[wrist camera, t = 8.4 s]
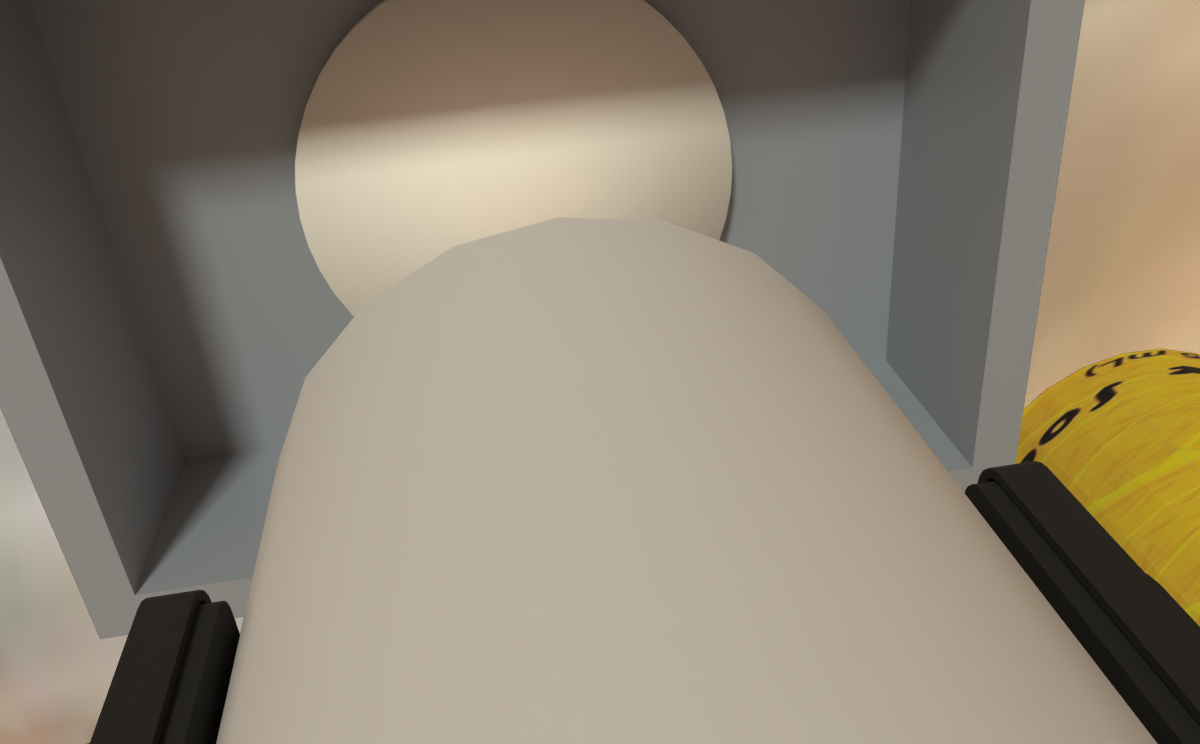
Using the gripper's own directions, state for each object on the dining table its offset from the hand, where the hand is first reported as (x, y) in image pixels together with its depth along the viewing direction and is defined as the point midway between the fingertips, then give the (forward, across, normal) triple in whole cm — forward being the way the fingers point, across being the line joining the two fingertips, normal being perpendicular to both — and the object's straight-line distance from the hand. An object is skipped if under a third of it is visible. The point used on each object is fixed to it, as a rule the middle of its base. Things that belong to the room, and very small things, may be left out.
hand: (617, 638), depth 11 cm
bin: (+15, 0, 0) cm, 15 cm away
